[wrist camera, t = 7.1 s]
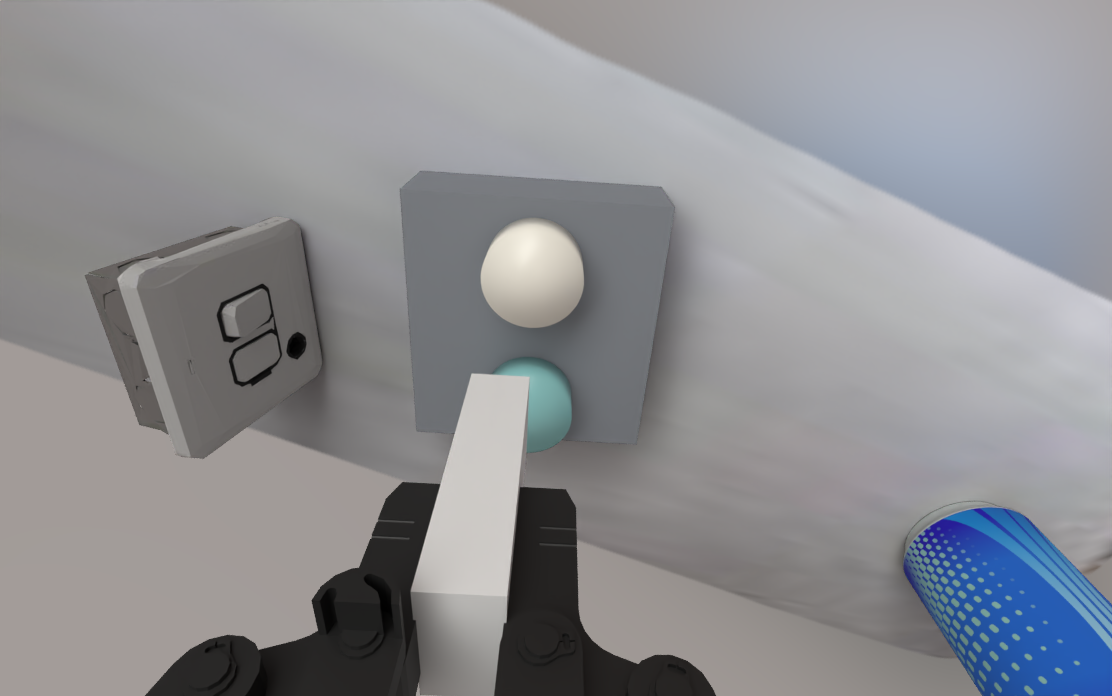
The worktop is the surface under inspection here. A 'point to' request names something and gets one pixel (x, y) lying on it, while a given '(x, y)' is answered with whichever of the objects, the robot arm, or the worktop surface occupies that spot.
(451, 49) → the worktop surface
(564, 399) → the knob teal
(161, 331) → the electrical switch
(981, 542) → the beer can
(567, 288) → the knob cream
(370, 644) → the robot arm
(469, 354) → the mount block
